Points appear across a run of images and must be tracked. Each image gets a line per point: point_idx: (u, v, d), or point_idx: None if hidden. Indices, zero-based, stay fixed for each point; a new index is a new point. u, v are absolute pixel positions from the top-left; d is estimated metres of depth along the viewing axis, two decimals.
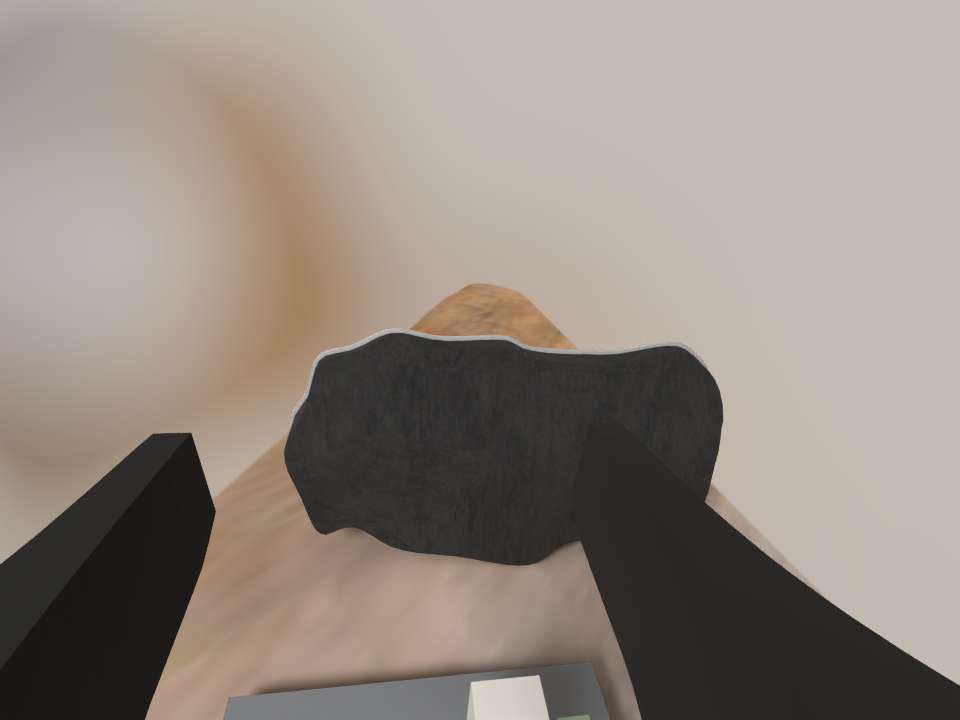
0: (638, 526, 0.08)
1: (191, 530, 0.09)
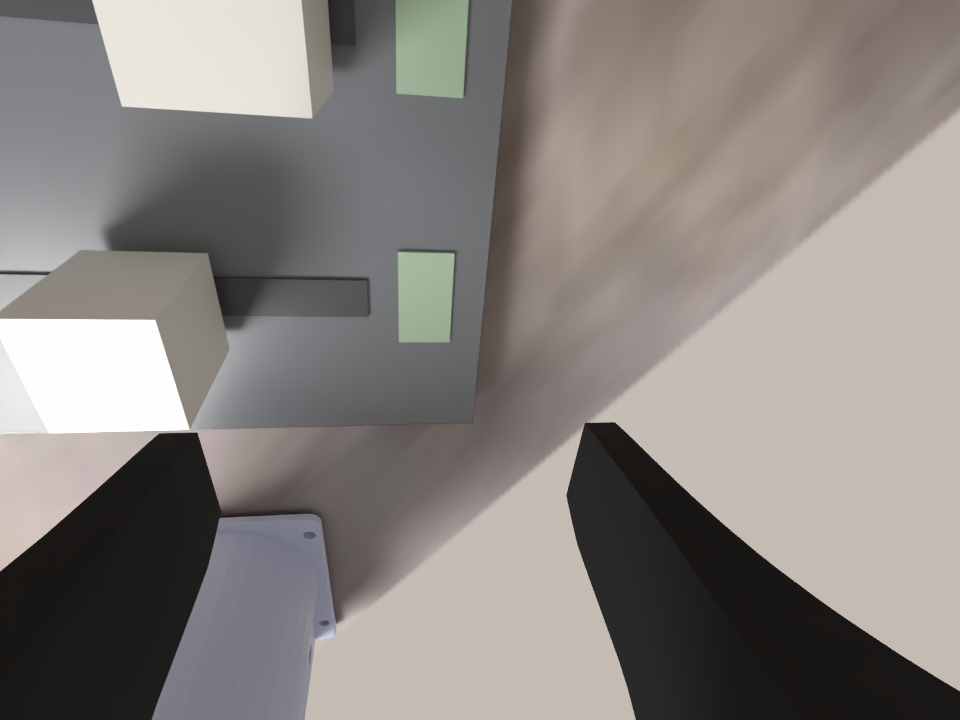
0: (632, 527, 0.08)
1: (197, 530, 0.09)
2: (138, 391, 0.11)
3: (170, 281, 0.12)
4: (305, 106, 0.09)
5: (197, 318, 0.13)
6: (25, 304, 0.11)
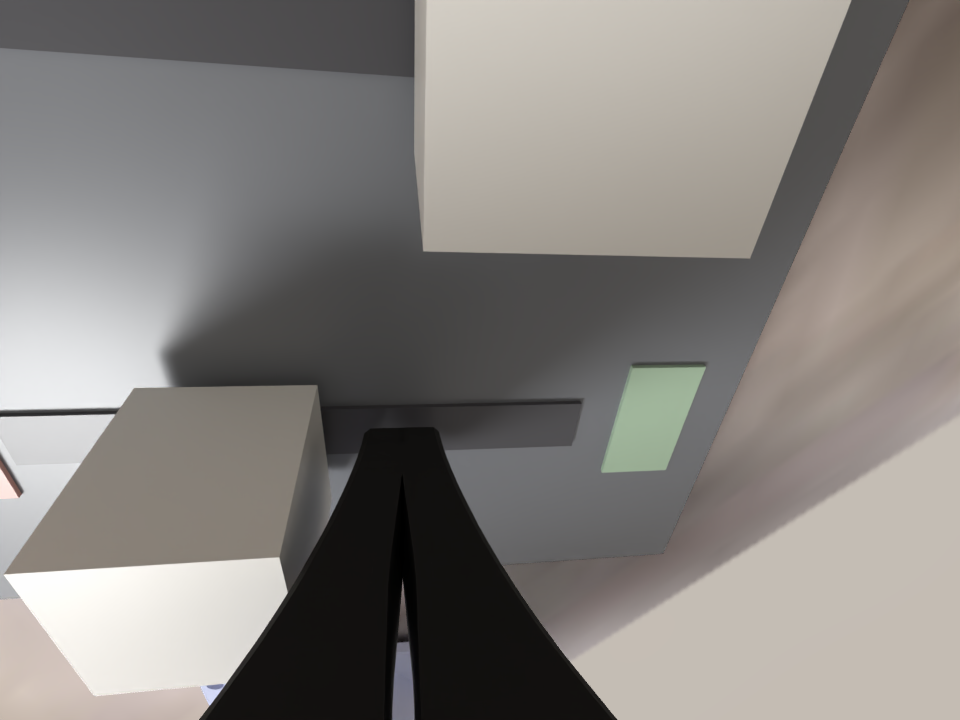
0: (407, 539, 0.07)
1: None
2: (238, 641, 0.07)
3: (280, 454, 0.08)
4: (741, 237, 0.05)
5: (311, 493, 0.08)
6: (62, 526, 0.06)
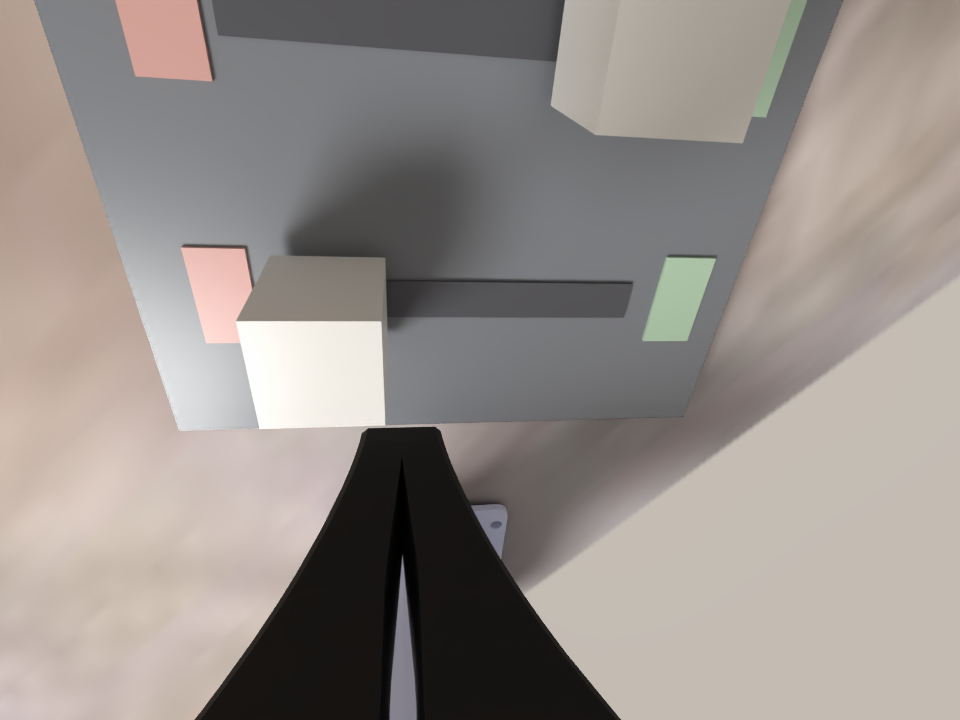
0: (410, 539, 0.07)
1: (402, 519, 0.09)
2: (349, 389, 0.12)
3: (370, 284, 0.13)
4: (738, 133, 0.10)
5: None
6: (257, 306, 0.11)
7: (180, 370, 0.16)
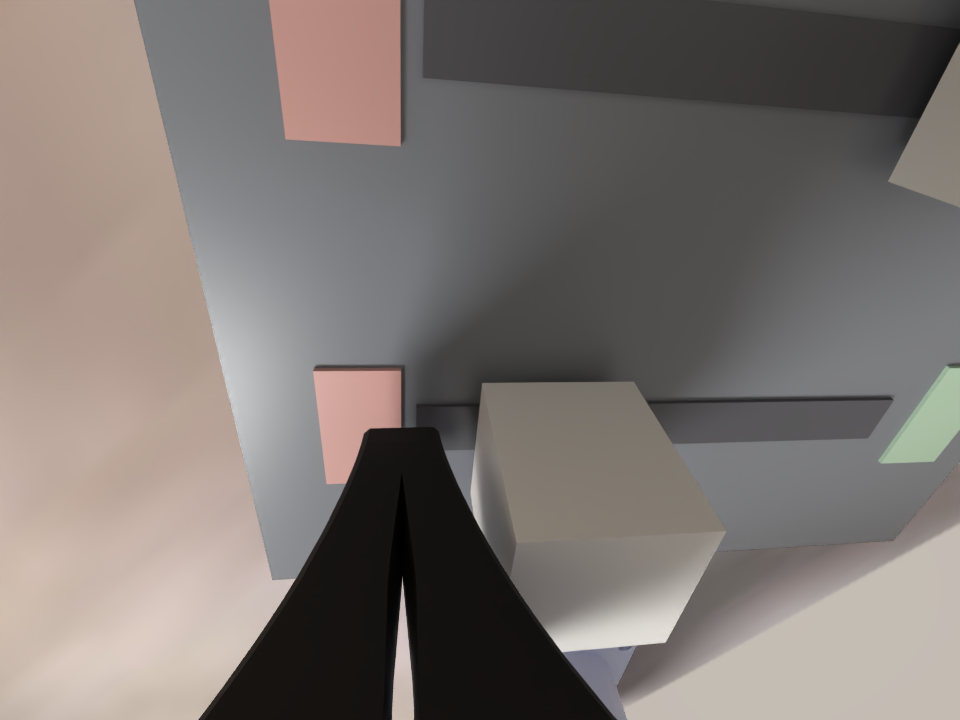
0: (407, 539, 0.07)
1: None
2: (638, 609, 0.08)
3: (653, 442, 0.09)
4: None
5: None
6: (528, 503, 0.07)
7: (285, 514, 0.12)
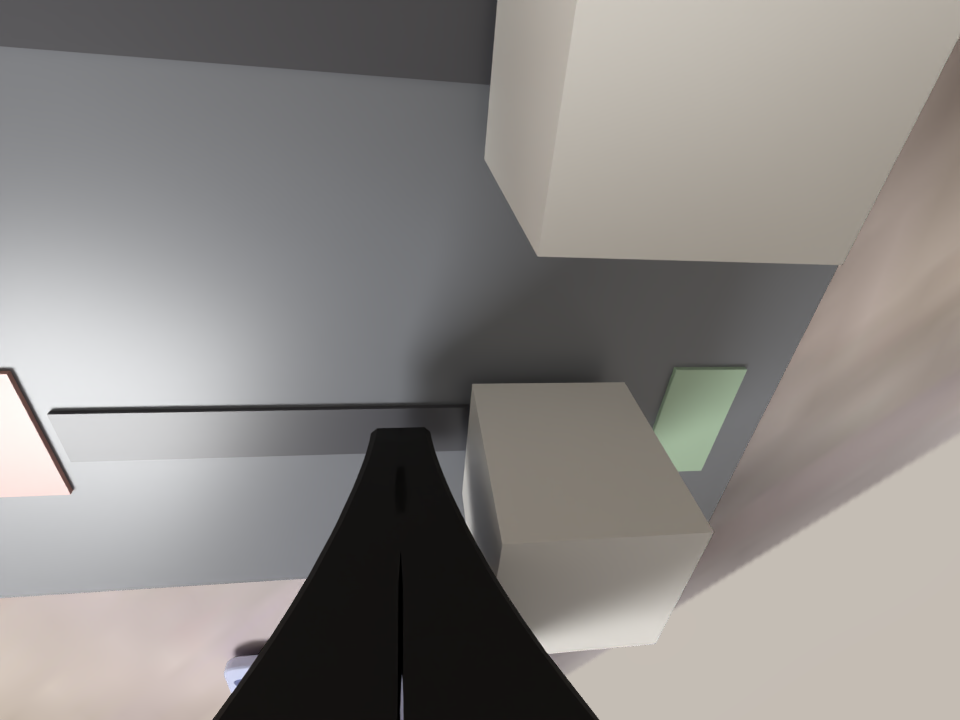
0: None
1: None
2: (627, 610, 0.08)
3: (642, 443, 0.09)
4: (835, 245, 0.05)
5: None
6: (515, 504, 0.07)
7: None
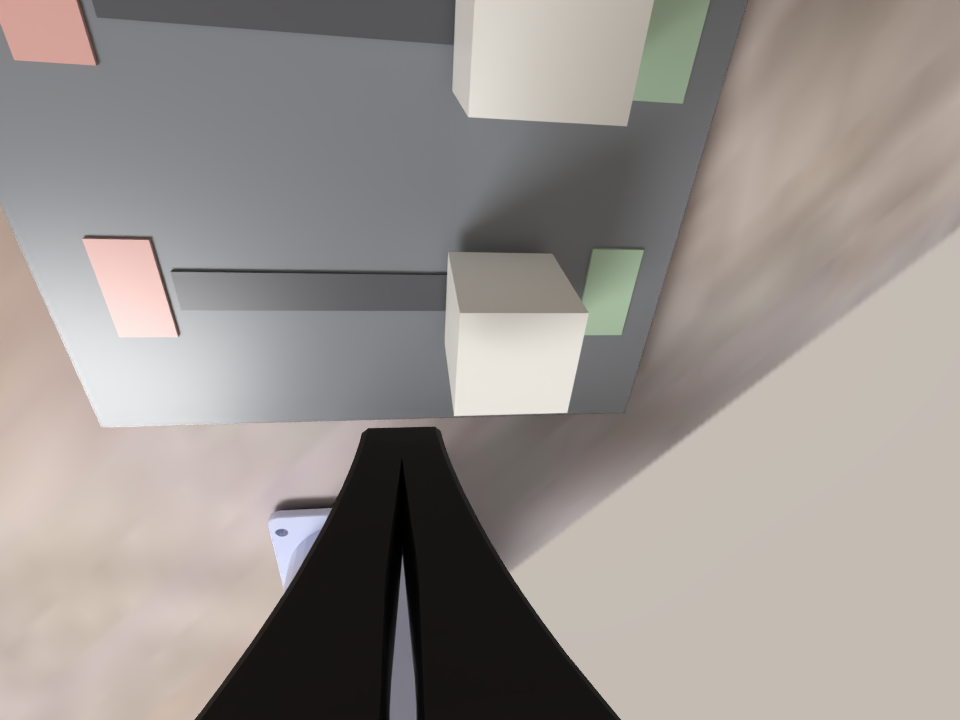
0: (410, 539, 0.07)
1: (402, 519, 0.09)
2: (543, 378, 0.13)
3: (556, 279, 0.13)
4: (622, 115, 0.10)
5: None
6: (469, 299, 0.12)
7: (95, 364, 0.15)
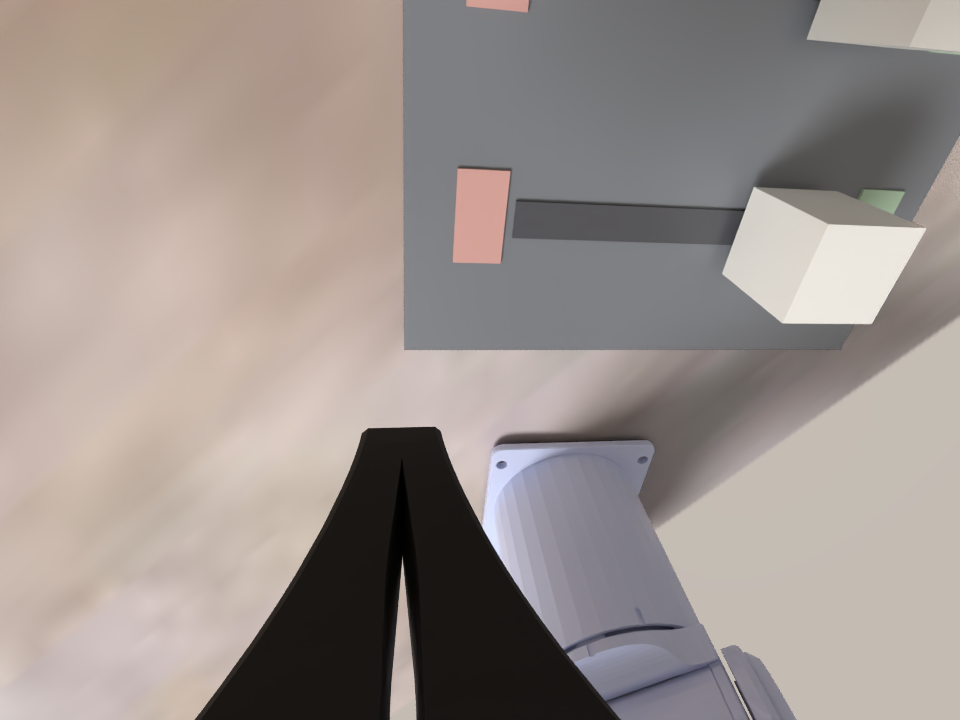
0: (410, 539, 0.07)
1: (402, 519, 0.09)
2: (866, 289, 0.15)
3: (867, 207, 0.15)
4: None
5: None
6: (822, 216, 0.14)
7: (422, 288, 0.17)
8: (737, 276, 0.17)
